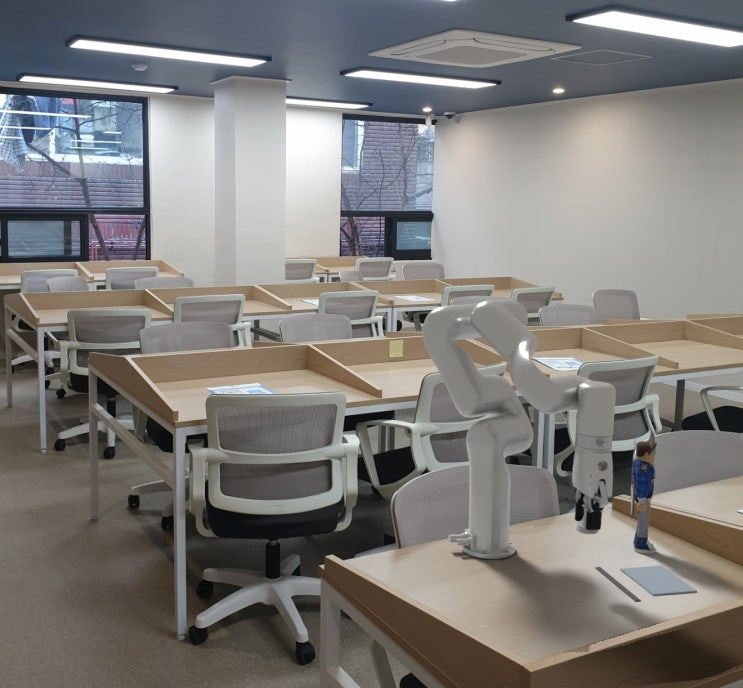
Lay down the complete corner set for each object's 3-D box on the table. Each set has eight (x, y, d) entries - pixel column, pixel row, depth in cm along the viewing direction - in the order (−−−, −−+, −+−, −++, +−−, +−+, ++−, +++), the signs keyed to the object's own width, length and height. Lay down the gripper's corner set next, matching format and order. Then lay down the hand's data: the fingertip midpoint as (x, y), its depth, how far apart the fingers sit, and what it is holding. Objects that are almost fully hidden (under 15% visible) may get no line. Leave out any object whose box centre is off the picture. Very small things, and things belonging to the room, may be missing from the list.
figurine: (656, 558, 198) (662, 431, 194) (629, 556, 199) (635, 430, 195) (651, 542, 208) (657, 421, 204) (625, 540, 209) (631, 420, 205)
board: (635, 601, 174) (635, 600, 174) (595, 568, 191) (595, 566, 191) (702, 595, 177) (702, 594, 177) (656, 563, 194) (656, 562, 194)
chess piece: (572, 526, 183) (575, 490, 182) (594, 526, 183) (597, 490, 182) (579, 534, 178) (582, 497, 177) (601, 534, 178) (604, 498, 177)
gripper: (630, 451, 170) (623, 539, 173) (592, 430, 187) (586, 510, 189) (595, 452, 169) (588, 540, 171) (559, 431, 185) (554, 512, 188)
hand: (587, 524), depth 180 cm, fingers closed on chess piece, 4 cm apart
